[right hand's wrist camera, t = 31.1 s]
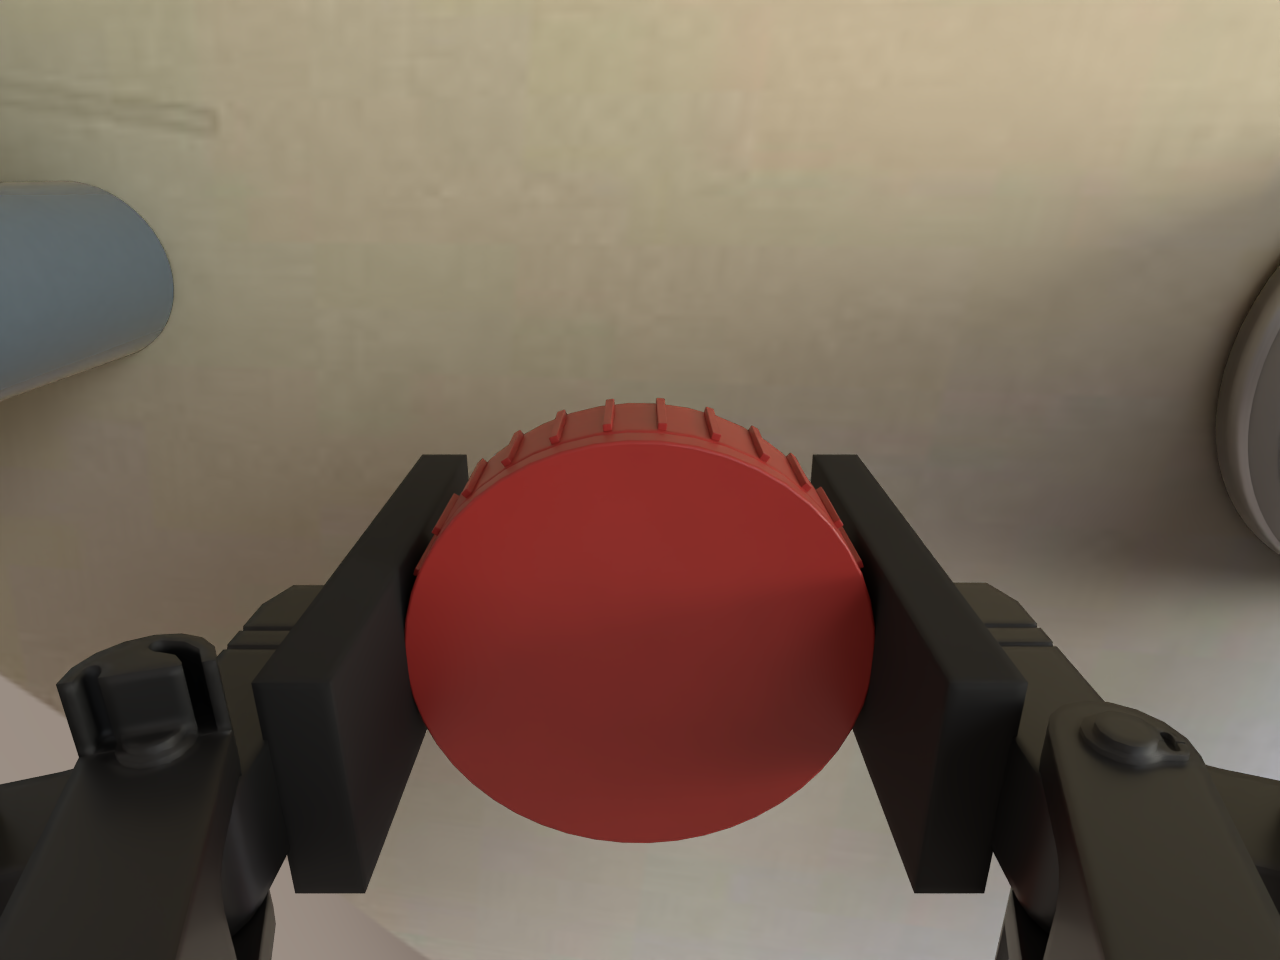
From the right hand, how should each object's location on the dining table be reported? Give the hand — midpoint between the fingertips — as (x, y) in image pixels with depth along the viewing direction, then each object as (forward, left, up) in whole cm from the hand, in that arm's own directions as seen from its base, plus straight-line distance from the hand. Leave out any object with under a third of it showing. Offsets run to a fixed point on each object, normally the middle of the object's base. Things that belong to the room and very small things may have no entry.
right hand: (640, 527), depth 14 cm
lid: (0, 0, +4) cm, 4 cm away
